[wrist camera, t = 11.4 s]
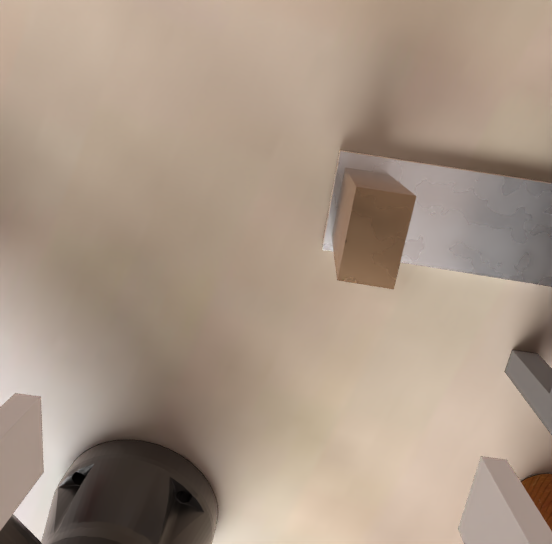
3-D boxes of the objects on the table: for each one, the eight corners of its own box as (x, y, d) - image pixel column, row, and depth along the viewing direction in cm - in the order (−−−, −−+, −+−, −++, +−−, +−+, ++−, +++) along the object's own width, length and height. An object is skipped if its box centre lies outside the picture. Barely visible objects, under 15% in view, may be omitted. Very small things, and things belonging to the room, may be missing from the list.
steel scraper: (322, 244, 35) (324, 295, 25) (339, 149, 32) (350, 164, 22) (574, 284, 34) (681, 354, 24) (610, 191, 32) (745, 225, 22)
